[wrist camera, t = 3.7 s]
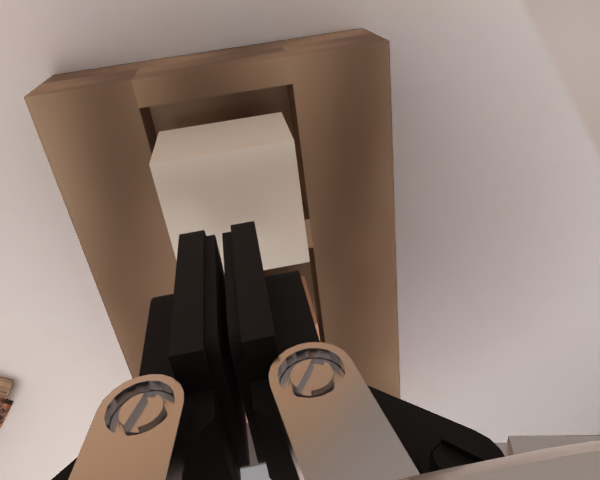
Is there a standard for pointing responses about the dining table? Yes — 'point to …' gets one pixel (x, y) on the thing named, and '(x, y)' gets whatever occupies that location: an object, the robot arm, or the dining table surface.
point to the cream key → (233, 184)
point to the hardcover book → (4, 398)
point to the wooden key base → (222, 107)
